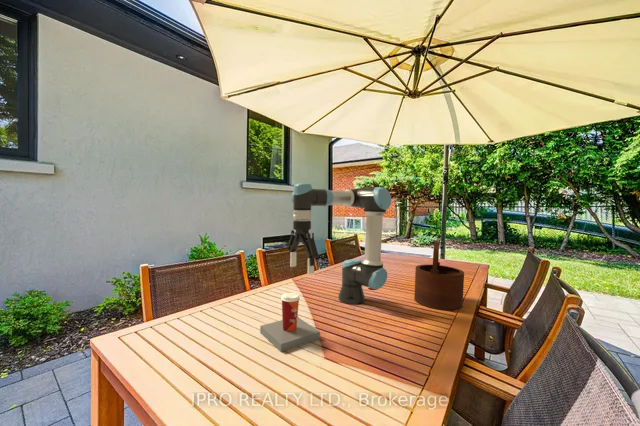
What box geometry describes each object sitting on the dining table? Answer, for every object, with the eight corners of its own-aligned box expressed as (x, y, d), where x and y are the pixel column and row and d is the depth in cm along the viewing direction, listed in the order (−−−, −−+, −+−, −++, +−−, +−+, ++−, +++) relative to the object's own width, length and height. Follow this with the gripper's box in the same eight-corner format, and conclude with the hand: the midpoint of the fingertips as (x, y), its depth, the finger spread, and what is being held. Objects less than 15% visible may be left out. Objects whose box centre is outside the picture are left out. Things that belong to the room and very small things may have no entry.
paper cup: (295, 334, 110) (296, 299, 109) (277, 331, 111) (278, 297, 111) (301, 325, 117) (302, 293, 117) (284, 323, 119) (284, 291, 118)
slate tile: (260, 332, 116) (260, 325, 116) (296, 322, 127) (296, 316, 127) (280, 352, 102) (280, 344, 101) (319, 338, 112) (320, 331, 112)
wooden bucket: (461, 299, 166) (464, 241, 165) (463, 314, 142) (467, 247, 141) (416, 292, 177) (418, 238, 175) (411, 305, 153) (414, 242, 152)
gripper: (280, 218, 124) (279, 265, 125) (311, 222, 104) (311, 278, 105) (294, 218, 129) (293, 262, 130) (327, 222, 109) (326, 275, 110)
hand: (301, 269), depth 117 cm, fingers open, 13 cm apart
